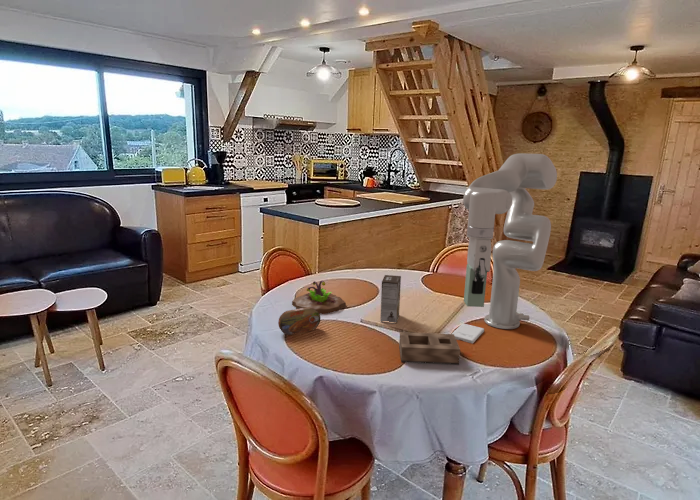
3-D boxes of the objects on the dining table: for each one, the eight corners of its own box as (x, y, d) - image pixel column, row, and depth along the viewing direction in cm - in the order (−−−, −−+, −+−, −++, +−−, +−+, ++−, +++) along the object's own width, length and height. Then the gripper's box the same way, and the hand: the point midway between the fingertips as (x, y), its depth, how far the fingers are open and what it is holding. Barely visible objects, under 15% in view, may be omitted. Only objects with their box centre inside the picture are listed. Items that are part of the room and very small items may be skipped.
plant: (313, 319, 168) (313, 291, 165) (285, 304, 182) (285, 278, 180) (353, 307, 181) (353, 281, 178) (323, 294, 195) (324, 270, 192)
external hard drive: (484, 332, 159) (472, 344, 149) (461, 327, 163) (449, 338, 153) (484, 328, 159) (473, 340, 148) (462, 323, 163) (449, 334, 153)
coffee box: (383, 313, 174) (384, 274, 170) (399, 315, 172) (401, 275, 169) (379, 322, 165) (381, 281, 161) (397, 324, 164) (399, 282, 160)
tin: (280, 337, 151) (280, 314, 149) (277, 333, 154) (277, 310, 152) (320, 329, 158) (321, 307, 156) (317, 326, 160) (317, 304, 158)
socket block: (452, 348, 145) (453, 334, 144) (459, 364, 134) (460, 349, 133) (399, 346, 146) (399, 332, 145) (401, 362, 135) (401, 347, 134)
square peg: (479, 301, 139) (483, 264, 136) (483, 306, 134) (487, 268, 132) (463, 300, 139) (466, 264, 137) (467, 306, 134) (470, 268, 132)
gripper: (501, 238, 123) (494, 300, 127) (485, 227, 140) (480, 282, 144) (474, 237, 123) (468, 299, 128) (461, 227, 140) (456, 282, 144)
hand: (474, 290), depth 136 cm, fingers closed on square peg, 5 cm apart
